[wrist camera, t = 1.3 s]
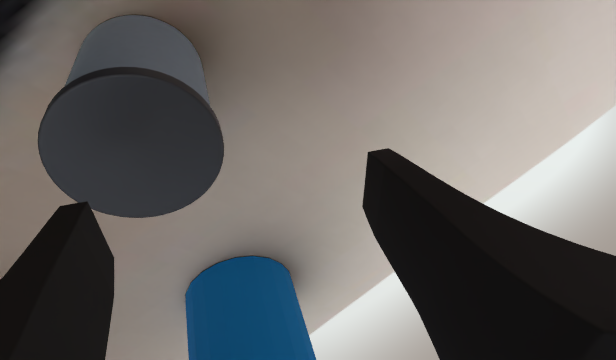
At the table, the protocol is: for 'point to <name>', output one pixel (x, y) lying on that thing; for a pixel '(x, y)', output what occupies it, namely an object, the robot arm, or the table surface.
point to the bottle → (246, 313)
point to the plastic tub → (133, 122)
